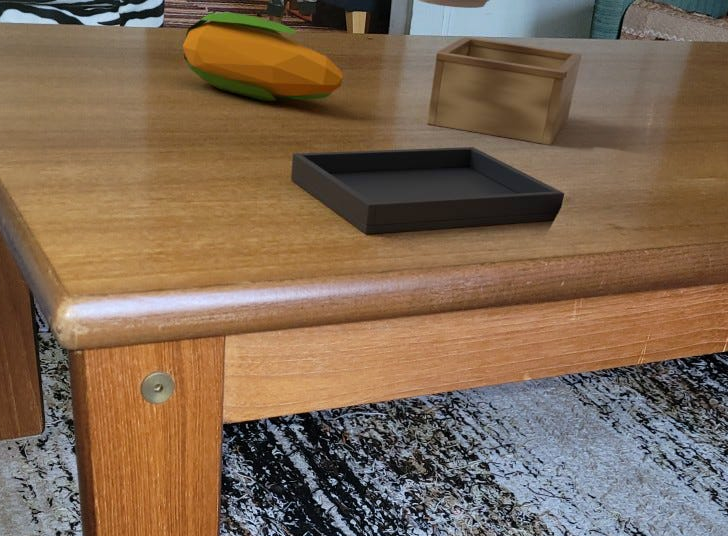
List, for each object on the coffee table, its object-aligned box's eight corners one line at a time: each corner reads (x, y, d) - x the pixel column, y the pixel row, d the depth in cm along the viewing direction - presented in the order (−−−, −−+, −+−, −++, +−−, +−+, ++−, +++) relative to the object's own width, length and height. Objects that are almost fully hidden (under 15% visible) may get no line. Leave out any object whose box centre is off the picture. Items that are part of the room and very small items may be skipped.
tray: (469, 171, 87) (473, 146, 86) (558, 220, 77) (565, 193, 76) (290, 180, 80) (292, 153, 79) (365, 234, 70) (369, 205, 69)
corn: (211, -3, 106) (368, 28, 97) (212, 73, 110) (363, 109, 102) (164, 7, 101) (326, 40, 92) (168, 86, 105) (322, 125, 97)
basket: (568, 120, 107) (582, 54, 103) (550, 145, 97) (565, 72, 93) (454, 101, 110) (464, 36, 106) (425, 124, 100) (435, 52, 96)
